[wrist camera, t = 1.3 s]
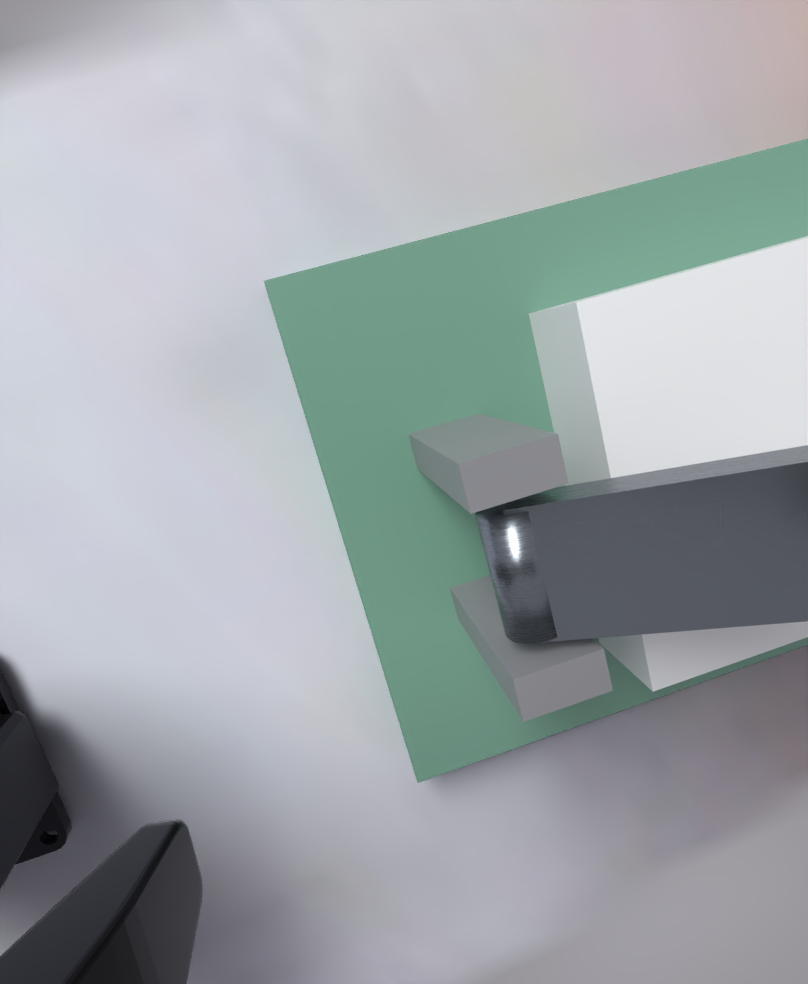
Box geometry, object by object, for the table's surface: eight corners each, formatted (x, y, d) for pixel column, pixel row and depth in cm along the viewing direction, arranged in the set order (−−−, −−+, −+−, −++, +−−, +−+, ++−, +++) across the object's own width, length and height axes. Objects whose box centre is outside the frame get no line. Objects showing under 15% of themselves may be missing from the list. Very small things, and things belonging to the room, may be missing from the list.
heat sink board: (409, 753, 21) (469, 963, 13) (266, 288, 17) (243, 229, 10) (963, 560, 23) (1275, 650, 15) (934, 113, 19) (1318, -41, 12)
